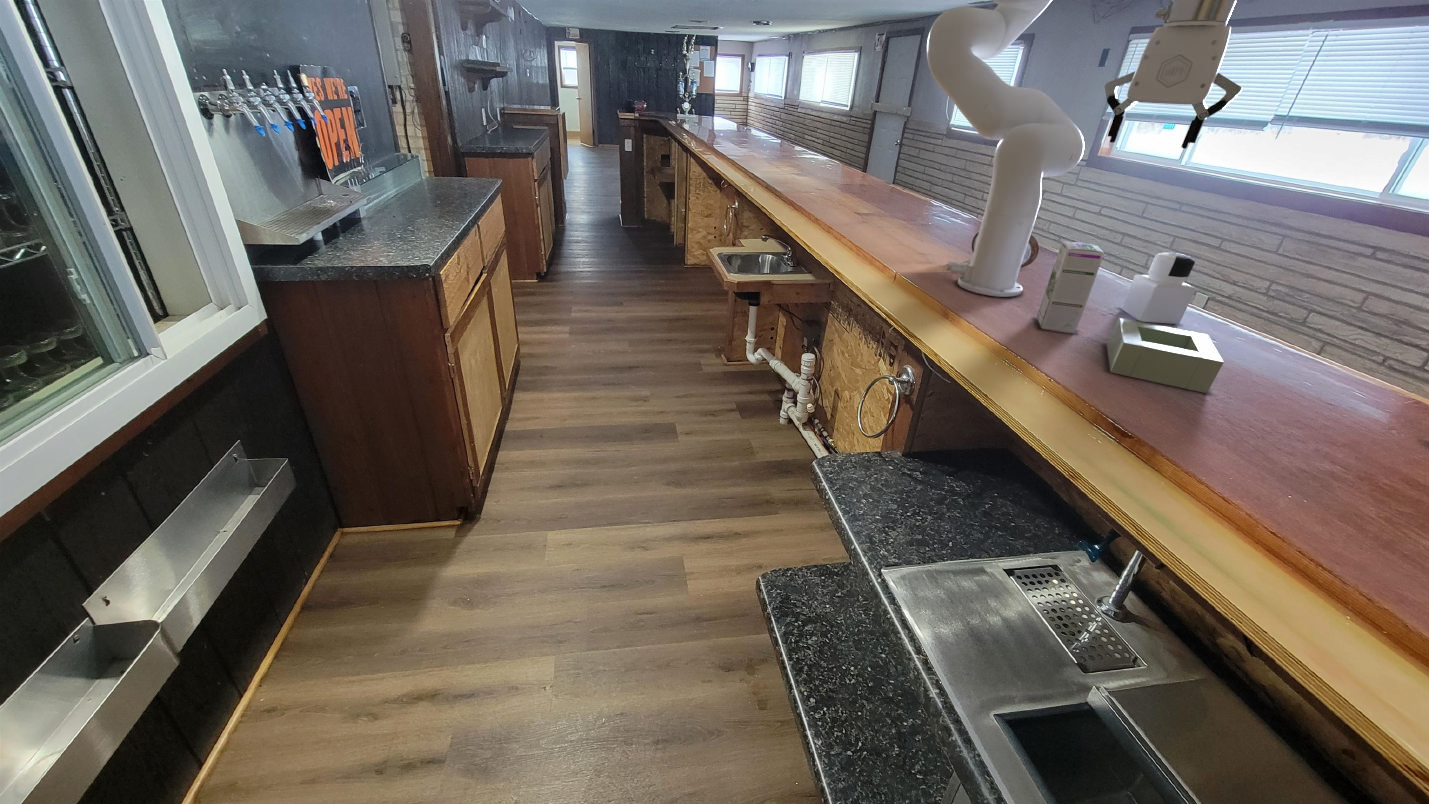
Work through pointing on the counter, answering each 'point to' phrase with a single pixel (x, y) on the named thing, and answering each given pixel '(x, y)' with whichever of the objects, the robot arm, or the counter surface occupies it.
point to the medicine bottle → (1161, 290)
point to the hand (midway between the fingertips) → (1147, 145)
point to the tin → (1029, 253)
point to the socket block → (1163, 355)
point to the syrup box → (1069, 286)
